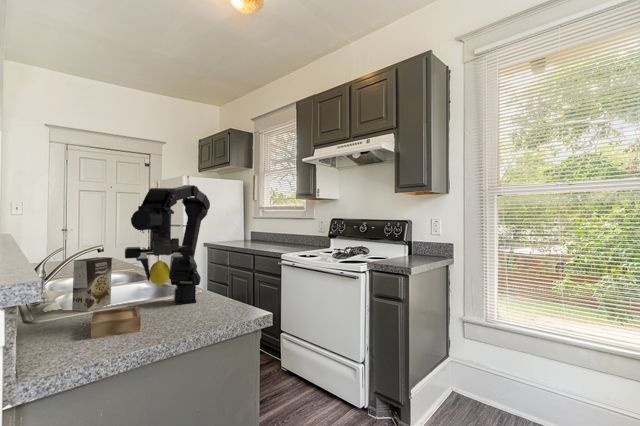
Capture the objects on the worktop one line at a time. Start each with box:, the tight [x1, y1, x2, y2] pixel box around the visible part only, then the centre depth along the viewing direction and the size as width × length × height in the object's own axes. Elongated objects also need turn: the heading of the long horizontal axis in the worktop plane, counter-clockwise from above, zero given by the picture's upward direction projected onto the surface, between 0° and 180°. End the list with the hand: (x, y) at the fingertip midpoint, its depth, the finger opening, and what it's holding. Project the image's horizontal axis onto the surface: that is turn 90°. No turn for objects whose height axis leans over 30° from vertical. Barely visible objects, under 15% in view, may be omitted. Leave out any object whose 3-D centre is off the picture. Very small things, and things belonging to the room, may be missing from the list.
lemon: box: [149, 260, 170, 287], centre depth 102 cm, size 6×6×8 cm
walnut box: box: [90, 306, 142, 340], centre depth 91 cm, size 11×11×4 cm
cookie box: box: [71, 256, 113, 313], centre depth 110 cm, size 9×6×16 cm
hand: (159, 279), depth 102 cm, fingers closed on lemon, 5 cm apart
